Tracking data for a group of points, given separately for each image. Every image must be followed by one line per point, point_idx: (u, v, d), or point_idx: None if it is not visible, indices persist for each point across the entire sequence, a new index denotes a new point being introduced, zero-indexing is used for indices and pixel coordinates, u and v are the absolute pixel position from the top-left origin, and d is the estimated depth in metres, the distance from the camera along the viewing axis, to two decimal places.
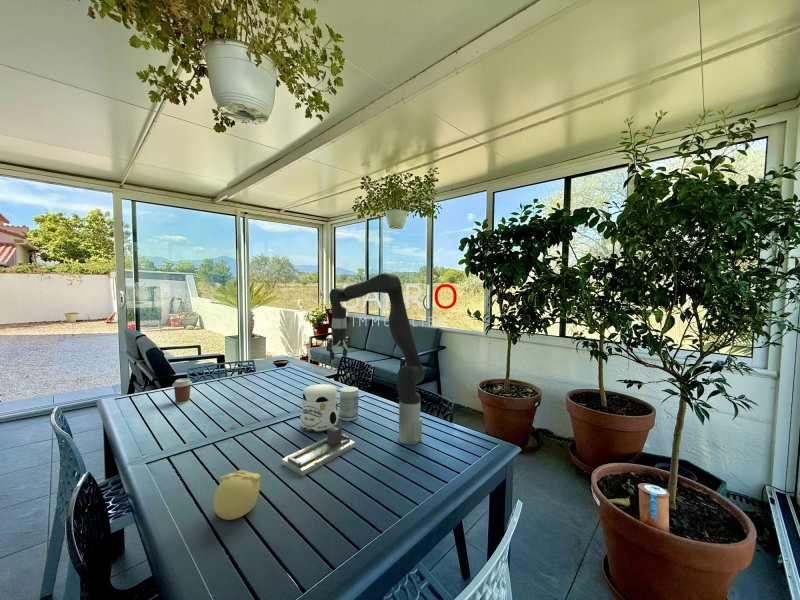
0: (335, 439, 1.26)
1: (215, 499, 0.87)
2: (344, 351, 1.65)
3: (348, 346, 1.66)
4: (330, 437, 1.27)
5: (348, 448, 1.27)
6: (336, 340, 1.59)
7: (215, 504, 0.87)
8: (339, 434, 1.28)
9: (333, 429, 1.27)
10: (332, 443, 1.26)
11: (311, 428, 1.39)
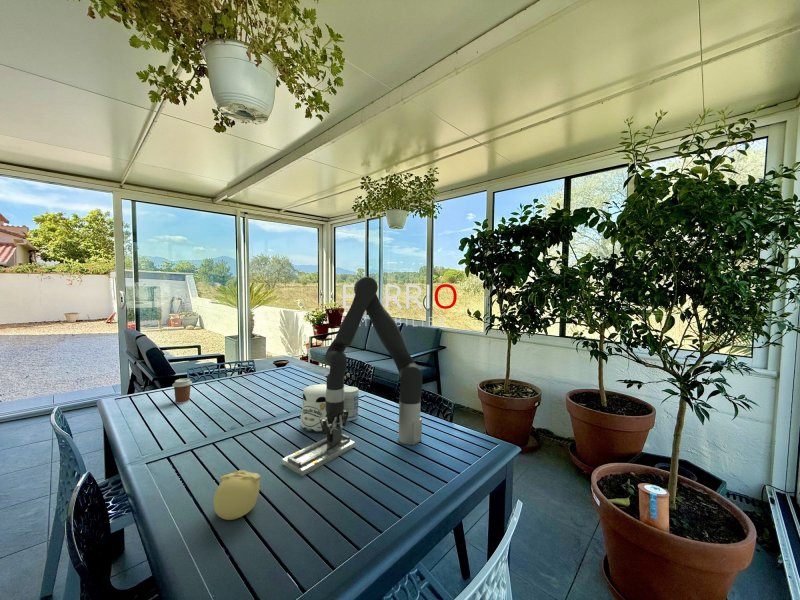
0: (335, 439, 1.26)
1: (215, 500, 0.87)
2: None
3: (343, 423, 1.31)
4: None
5: (348, 448, 1.27)
6: (331, 416, 1.25)
7: (215, 504, 0.87)
8: (339, 434, 1.28)
9: (333, 429, 1.27)
10: (332, 443, 1.26)
11: (311, 428, 1.39)
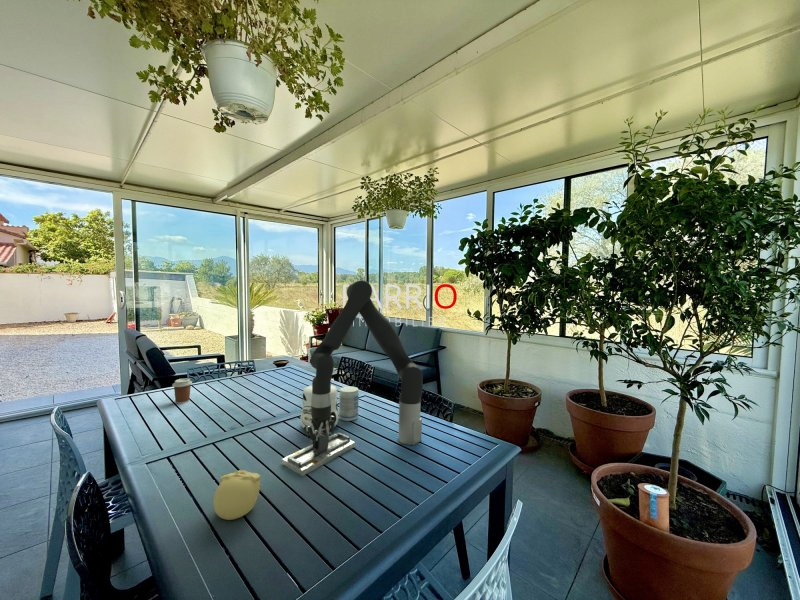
0: (321, 446, 1.21)
1: (215, 500, 0.87)
2: None
3: (330, 429, 1.25)
4: None
5: (348, 448, 1.27)
6: (317, 422, 1.20)
7: (215, 504, 0.87)
8: (325, 441, 1.22)
9: (319, 435, 1.22)
10: (318, 450, 1.20)
11: None
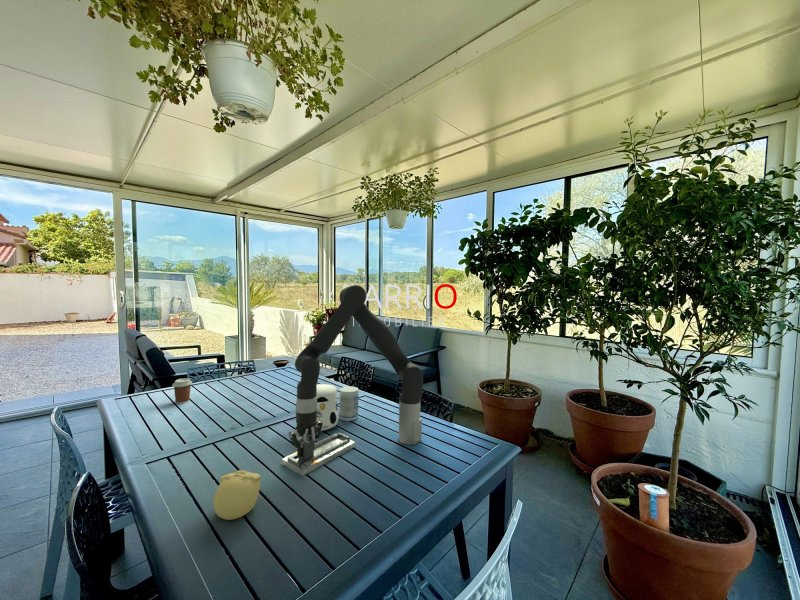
0: (306, 453, 1.15)
1: (215, 500, 0.87)
2: None
3: (316, 435, 1.20)
4: None
5: (348, 448, 1.27)
6: (302, 428, 1.14)
7: (215, 504, 0.87)
8: (311, 448, 1.17)
9: (304, 442, 1.16)
10: (303, 458, 1.15)
11: None
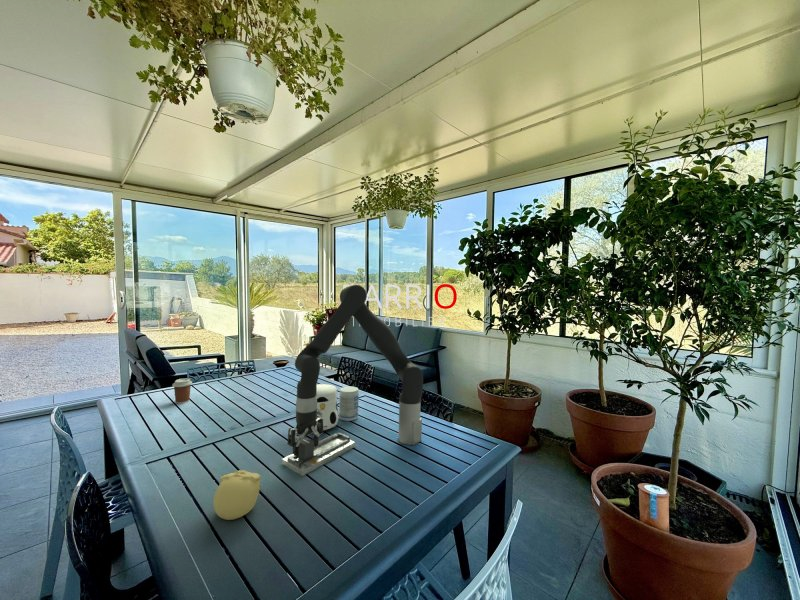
0: (306, 453, 1.15)
1: (215, 500, 0.87)
2: (314, 439, 1.20)
3: (320, 431, 1.21)
4: (301, 451, 1.16)
5: (348, 448, 1.27)
6: (302, 428, 1.14)
7: (215, 504, 0.87)
8: (311, 448, 1.17)
9: (304, 442, 1.16)
10: (303, 458, 1.15)
11: None
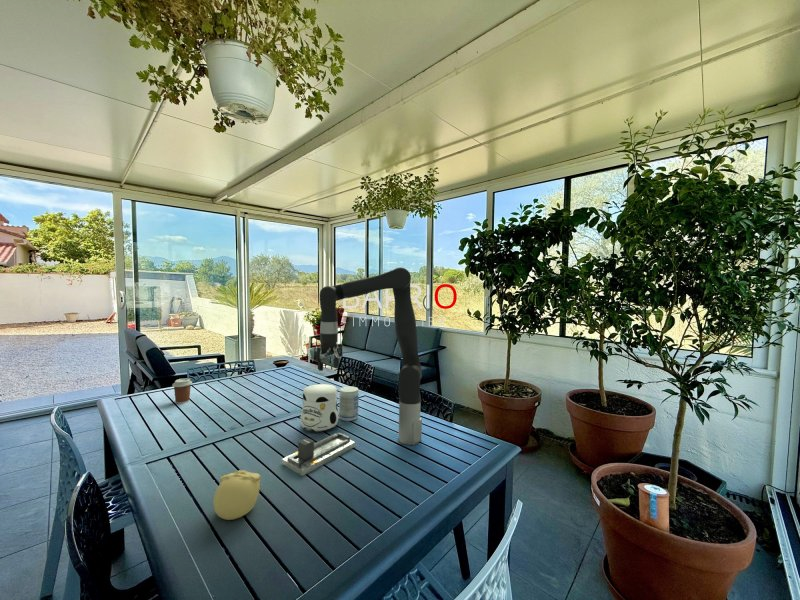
0: (306, 453, 1.15)
1: (215, 500, 0.87)
2: (335, 360, 1.40)
3: (340, 354, 1.41)
4: (301, 451, 1.16)
5: (348, 448, 1.27)
6: (325, 348, 1.34)
7: (215, 504, 0.87)
8: (311, 448, 1.17)
9: (304, 442, 1.16)
10: (303, 458, 1.15)
11: (311, 428, 1.39)
